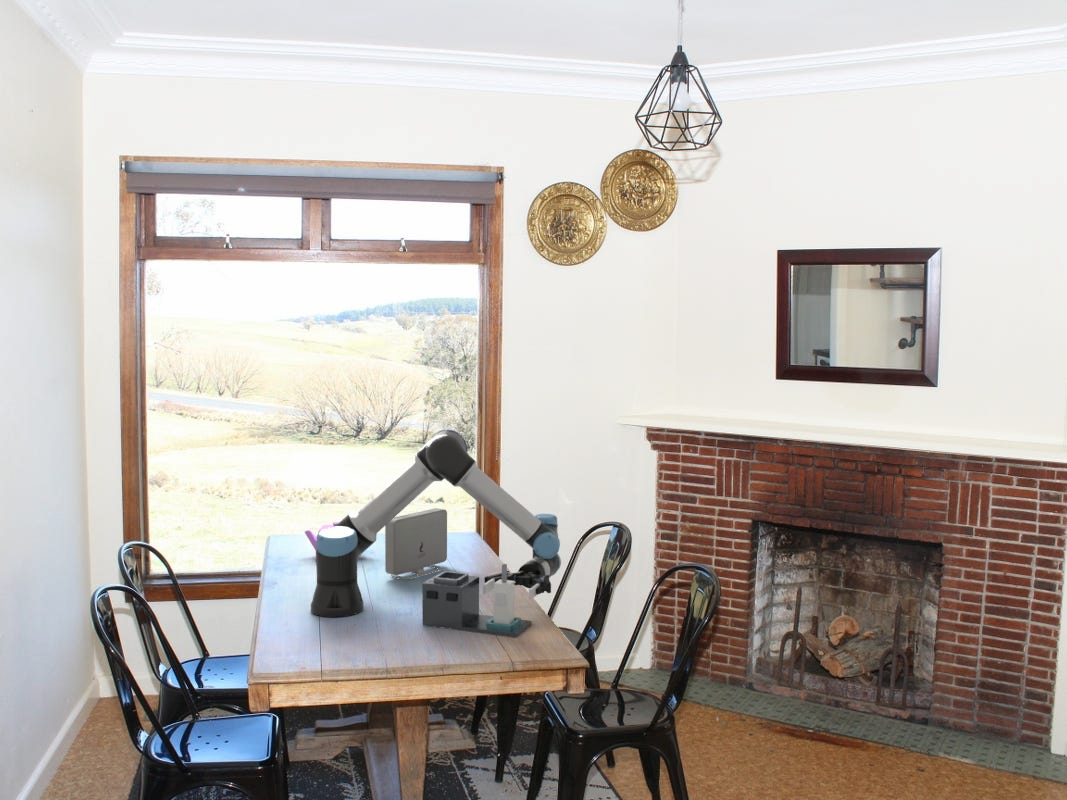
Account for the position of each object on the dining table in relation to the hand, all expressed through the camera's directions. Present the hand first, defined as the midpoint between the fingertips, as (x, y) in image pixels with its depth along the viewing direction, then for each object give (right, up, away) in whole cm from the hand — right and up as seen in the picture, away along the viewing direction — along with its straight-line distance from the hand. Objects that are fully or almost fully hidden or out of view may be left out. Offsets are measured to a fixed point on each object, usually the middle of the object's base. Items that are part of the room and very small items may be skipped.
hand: (507, 591), depth 275 cm
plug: (-1, -9, 0) cm, 9 cm away
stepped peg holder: (-8, -10, +3) cm, 13 cm away
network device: (-32, -5, +57) cm, 65 cm away
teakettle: (-63, -3, +78) cm, 100 cm away
